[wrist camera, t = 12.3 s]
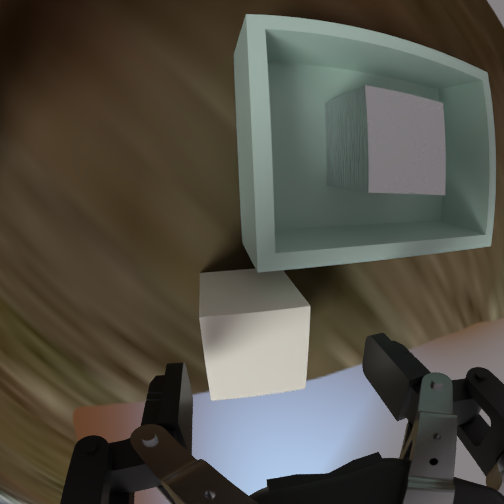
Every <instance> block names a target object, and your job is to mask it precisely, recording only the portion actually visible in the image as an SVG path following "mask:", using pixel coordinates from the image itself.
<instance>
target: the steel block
mask: <svg viewBox="0 0 504 504" xmlns="http://www.w3.org/2000/svg"><path fill="white" fill-rule="evenodd" d="M325 126H326V161H327V186H332V187H338V188H344V189H350V190H355V191H361V192H366V193H399V194H428V195H445V183H446V146H445V124H444V110H443V103H441V102H438V101H434V100H431V99H427V98H423V97H419V96H415V95H411V94H407V93H402V92H398V91H393V90H389V89H384V88H378V87H373V86H367V85H364V86H362V87H360V88H357V89H355V90H353V91H351V92H348V93H346V94H344V95H342V96H340V97H338V98H336V99H334V100H331V101H329V102H327V103H325Z"/></svg>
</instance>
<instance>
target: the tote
mask: <svg viewBox="0 0 504 504" xmlns="http://www.w3.org/2000/svg"><path fill="white" fill-rule="evenodd" d="M234 76H235V101H236V124H237V147H238V168H239V189H240V210H241V229H242V244H243V245H244V247H245V249H246V251H247V253H248V255H249V257H250V259H251V261H252V263H253V265H254V267H255V269H256V270H257V272H258V273H259V272H270V271H280V270H291V269H301V268H311V267H320V266H330V265H339V264H349V263H358V262H367V261H376V260H384V259H393V258H402V257H410V256H418V255H426V254H434V253H442V252H450V251H458V250H466V249H473V248H481V247H488V246H491V240H492V232H493V222H494V209H495V191H496V148H495V129H494V117H493V108H492V99H491V92H490V85H489V79H488V73H487V72H485V71H483V70H481V69H479V68H477V67H475V66H473V65H470V64H468V63H466V62H464V61H461V60H459V59H457V58H454V57H452V56H449V55H447V54H444V53H442V52H439V51H437V50H434V49H431V48H428V47H425V46H423V45H420V44H417V43H414V42H410V41H407V40H404V39H401V38H397V37H394V36H390V35H387V34H383V33H379V32H375V31H371V30H367V29H362V28H358V27H353V26H348V25H343V24H338V23H332V22H326V21H319V20H312V19H304V18H296V17H285V16H273V15H253V14H246V16H245V19H244V22H243V26H242V29H241V32H240V36H239V39H238V42H237V46H236V49H235V52H234ZM364 85H367V86H373V87H378V88H384V89H389V90H393V91H398V92H402V93H407V94H411V95H415V96H419V97H423V98H427V99H431V100H434V101H438V102H441V103H443V110H444V124H445V146H446V183H445V195H428V194H399V193H366V192H361V191H355V190H350V189H344V188H338V187H332V186H327V161H326V126H325V103H327V102H329V101H331V100H334V99H336V98H338V97H340V96H342V95H344V94H346V93H348V92H351V91H353V90H355V89H357V88H360V87H362V86H364Z"/></svg>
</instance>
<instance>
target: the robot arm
mask: <svg viewBox="0 0 504 504" xmlns="http://www.w3.org/2000/svg"><path fill="white" fill-rule="evenodd" d="M362 366H363V372H364V374H365V376H366V378H367V379H368V381H369V382H370V383H371V385H372V386H373V388H374V389H375V390H376V392H377V393H378V395H379V396H380V397H381V399H382V400H383V402H384V403H385V405H386V406H387V407H388V409H389V410H390V412H391V413H392V415H393V416H394V417H395V419H396V420H397V421H399V420H402V419H404V418H407V419H408V423H407V426H406V431H405V436H404V441H403V445H402V449H401V453H400V457H399V459H398V458H382V457H381V455H380V454H379V452H377V453H374V454H371V455H368V456H365V457H362V458H359V459H356V460H353V461H351V462H349V463H348V464H345V465H343V466H342V467H340V468H338V469H336V470H334V471H332V472H330V473H326V474H296V475H291V476H285V477H280V478H274V479H267V487H266V488H263V489H261V490H259V491H257V492H255V493H253V494H252V495H250V496H248V495H247V494H245V493H244V492H243V491H241V490H240V489H239V488H238V487H236V486H235V485H234V484H232V483H231V482H230V481H229V480H227V479H226V478H225V477H224V476H223V475H221V474H220V473H219V472H218V471H217V470H215V469H214V468H213V467H212V466H211V465H210V464H208V463H207V462H206V461H204V460H202V459H200V460H196V459H195V458H194V457H193V456H192V414H193V397H192V390H191V386H190V382H189V378H188V373H187V369H186V365H185V363H169V364H167V366H166V371H165V375H160V376H156V377H155V378H154V379H153V380H152V382H151V383H150V385H149V390H148V394H147V401H146V403H145V408H144V413H143V418H142V423H141V426H140V427H138V428H137V429H135V430H134V431H133V433H132V434H131V437H130V438H129V439H126V440H123V441H118V442H113V443H108V442H107V441H106V440H105V439H104V438H102V437H100V436H95V435H93V436H87V437H84V438H83V439H81V440H79V441H78V442H77V444H76V445H75V447H74V451H73V454H72V458H71V462H70V465H69V469H68V473H67V477H66V481H65V485H64V490H63V494H62V498H61V503H60V504H134V493H135V491H140V490H145V489H149V488H153V487H157V489H158V490H159V491H160V492H161V493H162V494H163V495H164V497H165V498H166V499H167V500H168V501H169V502H170V503H171V504H504V384H503V383H502V382H501V381H500V380H499V379H498V378H497V377H495V376H494V375H493V374H492V373H491V372H490V371H489V370H487V369H485V368H481V367H476V368H472V369H470V370H469V371H468V373H467V375H466V378H465V379H459V380H451V379H450V378H449V377H448V376H447V375H445V374H442V373H436V372H435V373H431V372H430V371H429V370H428V369H427V368H426V367H425V366H424V365H423V364H422V363H421V362H420V361H419V360H418V359H417V358H415V357H414V355H413V354H412V353H410V352H409V350H408V349H407V348H406V347H405V346H404V345H402V344H400V343H398V342H396V341H391V340H390V339H389V338H388V337H387V336H386V335H385V334H384V333H379V334H375V335H371V336H368V337H367V338H366V342H365V350H364V357H363V365H362ZM481 408H482V409H483V410H484V411H485V413H486V414H487V415H488V416H489V417H490V420H491V427H490V426H489V425H488V424H487V423H486V422H485V420H484V419H483V418H482V417H481V416H480V415H479V412H480V410H481ZM457 436H458V437H459V439H460V440H461V442H462V443H463V444H464V446H465V447H466V449H467V450H468V451H469V453H470V454H471V456H472V457H473V458H474V460H475V461H476V463H477V464H478V466H479V467H480V468H481V470H482V471H483V472H484V474H485V476H486V485H487V486H484V485H480V484H476V483H473V482H469V481H466V480H462V479H459V478H456V477H453V476H454V467H455V466H454V465H455V456H456V455H455V454H456V441H457Z"/></svg>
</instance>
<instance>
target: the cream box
mask: <svg viewBox="0 0 504 504" xmlns="http://www.w3.org/2000/svg"><path fill="white" fill-rule="evenodd" d="M199 318H200V326H201V334H202V342H203V349H204V357H205V364H206V370H207V377H208V384H209V390H210V396H211V401H212V400H224V399H234V398H244V397H252V396H260V395H268V394H275V393H281V392H288V391H293V390H299V389H305V386H306V374H307V360H308V345H309V327H310V305H309V303H308V302H307V301H306V299H305V298H304V297H303V296H302V294H301V293H300V292H299V290H298V289H297V288H296V286H295V285H294V284H293V283H292V281H291V280H290V279H289V277H288V276H287V275H286V273H285V272H284V271H283V270H280V271H270V272H259V273H258V272H257V270H256V269H243V270H231V271H219V272H206V273H200V307H199Z"/></svg>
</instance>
